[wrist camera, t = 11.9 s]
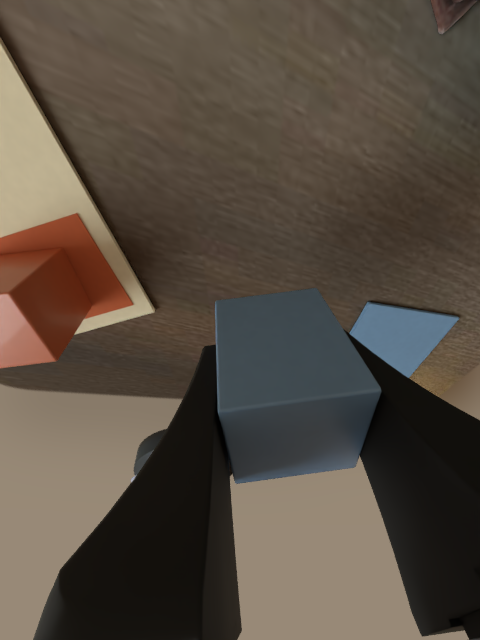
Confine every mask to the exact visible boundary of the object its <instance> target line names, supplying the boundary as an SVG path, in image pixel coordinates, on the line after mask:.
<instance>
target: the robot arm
mask: <svg viewBox="0 0 480 640" xmlns="http://www.w3.org/2000/svg"><path fill="white" fill-rule="evenodd" d="M343 330H344V329H343ZM344 331H345V330H344ZM345 333H346V334H347V336H348V338H349V339H350V341H351V342H352V344H353V345H354V347H355V348H356V350H357V352H358V353H359V355H360V356H361V358H362V359H363V361H364V363H365V364H366V366H367V367H368V369H369V370H370V372H371V373H372V375H373V377H374V378H375V380H376V381H377V383H378V384H379V386H380V387H381V394H380V397H379V400H378V403H377V406H376V409H375V412H374V415H373V418H372V420H371V423H370V426H369V429H368V432H367V435H366V438H365V441H364V444H363V447H362V450H361V453H360V457H361V460H362V462H363V465H364V468H365V470H366V473H367V476H368V479H369V481H370V484H371V487H372V489H373V492H374V495H375V498H376V501H377V503H378V506H379V509H380V512H381V515H382V518H383V521H384V524H385V527H386V530H387V533H388V536H389V539H390V542H391V545H392V548H393V551H394V554H395V558H396V561H397V564H398V568H399V570H400V574H401V577H402V581H403V584H404V587H405V591H406V594H407V597H408V601H409V604H410V608H411V611H412V614H413V616H414V619H415V621H416V624H417V626H418V629H419V631H420V633H421V635H422V636H429V635H435V634H442V633H449V632H456V631H463V630H465V631H466V633H467V636H468V638H469V640H480V420H478V419H476V418H474V417H472V416H471V415H469V414H467V413H465V412H463V411H461V410H460V409H458V408H456V407H454V406H453V405H451V404H449V403H448V402H446V401H444V400H442V399H441V398H439V397H437V396H436V395H434V394H432V393H431V392H429V391H427V390H426V389H424V388H423V387H421V386H420V385H418V384H417V383H415V382H414V381H412V380H411V379H409V378H408V377H406V376H405V375H403V374H402V373H400V372H399V371H398V370H396V369H395V368H393V367H392V366H391V365H389V364H388V363H386V362H385V361H384V360H382V359H381V358H380V357H378V356H377V355H376V354H374V353H373V352H372V351H371V350H369V349H368V348H367V347H365V346H364V345H363V344H362V343H360V342H359V341H358V340H357V339H355V338H354V337H353V336H352V335H350V334H349V333H348V332H346V331H345ZM229 472H230V469H229V456H228V452H227V448H226V444H225V439H224V435H223V431H222V427H221V423H220V419H219V415H218V405H217V363H216V345H211V346H205V347H204V348H203V350H202V353H201V357H200V360H199V363H198V365H197V368H196V371H195V373H194V376H193V378H192V380H191V383H190V385H189V387H188V390H187V392H186V394H185V396H184V398H183V400H182V402H181V404H180V406H179V408H178V410H177V412H176V414H175V416H174V418H173V419H172V421H171V423H170V425H169V426H168V428H167V430H166V432H165V433H164V435H163V437H162V438H161V440H160V441H159V443H158V445H157V446H156V448H155V449H154V451H153V452H152V454H151V455H150V457H149V458H148V460H147V461H146V463H145V464H144V466H143V467H142V469H141V470H140V471H139V473H138V474H137V475H136V476H134V477H133V478H132V479H131V482H132V483H131V484H130V485H129V486H128V488H127V489H126V490H125V492H124V493H123V494H122V496H121V497H120V498H119V499H118V501H117V502H116V503H115V505H114V506H113V507H112V509H111V510H110V511H109V513H108V514H107V515H106V516H105V517H104V519H103V520H102V521H101V522H100V524H99V525H98V526H97V527H96V528H95V529H94V531H93V532H92V533H91V534H90V535H89V536H88V538H87V539H86V540H85V541H84V542H83V543H82V545H81V546H80V547H79V548H78V549H77V551H76V552H75V553H74V554H73V555H72V556H71V558H70V559H69V560H68V561H67V562H66V563H65V564H64V566H63V567H62V568H61V569H60V571H59V574H58V576H57V579H56V581H55V583H54V586H53V588H52V590H51V592H50V595H49V597H48V599H47V602H46V604H45V607H44V610H43V613H42V616H41V618H40V621H39V624H38V627H37V630H36V633H35V636H34V639H33V640H237V639H238V637H239V635H240V633H241V631H242V628H241V617H240V605H239V595H238V582H237V570H236V557H235V545H234V533H233V519H232V505H231V491H230V476H229Z"/></svg>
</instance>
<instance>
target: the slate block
mask: <svg viewBox="0 0 480 640" xmlns="http://www.w3.org/2000/svg"><path fill="white" fill-rule="evenodd" d="M215 321H216V363H217V405H218V415H219V419H220V423H221V427H222V431H223V435H224V439H225V444H226V448H227V452H228V456H229V460H230V464H231V469H232V473H233V477H234V481H235V483H237V484H238V483H246V482H252V481H260V480H268V479H275V478H282V477H288V476H297V475H304V474H311V473H318V472H325V471H333V470H340V469H348V468H354V467H355V466H356V464H357V461H358V458H359V455H360V453H361V450H362V447H363V444H364V441H365V438H366V435H367V432H368V429H369V426H370V423H371V420H372V418H373V415H374V412H375V409H376V406H377V403H378V400H379V397H380V394H381V387H380V386H379V384H378V383H377V381H376V380H375V378H374V377H373V375H372V373H371V372H370V370H369V369H368V367H367V366H366V364H365V363H364V361H363V359H362V358H361V356H360V355H359V353H358V352H357V350H356V348H355V347H354V345H353V344H352V342H351V341H350V339H349V338H348V336H347V334H346V333H345V331H344V330H343V328H342V327H341V325H340V324H339V322H338V320H337V319H336V317H335V316H334V314H333V313H332V311H331V310H330V308H329V306H328V305H327V303H326V302H325V300H324V299H323V297H322V296H321V294H320V292H319V291H318V289H317V288H312V289H304V290H297V291H289V292H281V293H273V294H265V295H257V296H250V297H242V298H234V299H226V300H218V301H216V302H215Z"/></svg>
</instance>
